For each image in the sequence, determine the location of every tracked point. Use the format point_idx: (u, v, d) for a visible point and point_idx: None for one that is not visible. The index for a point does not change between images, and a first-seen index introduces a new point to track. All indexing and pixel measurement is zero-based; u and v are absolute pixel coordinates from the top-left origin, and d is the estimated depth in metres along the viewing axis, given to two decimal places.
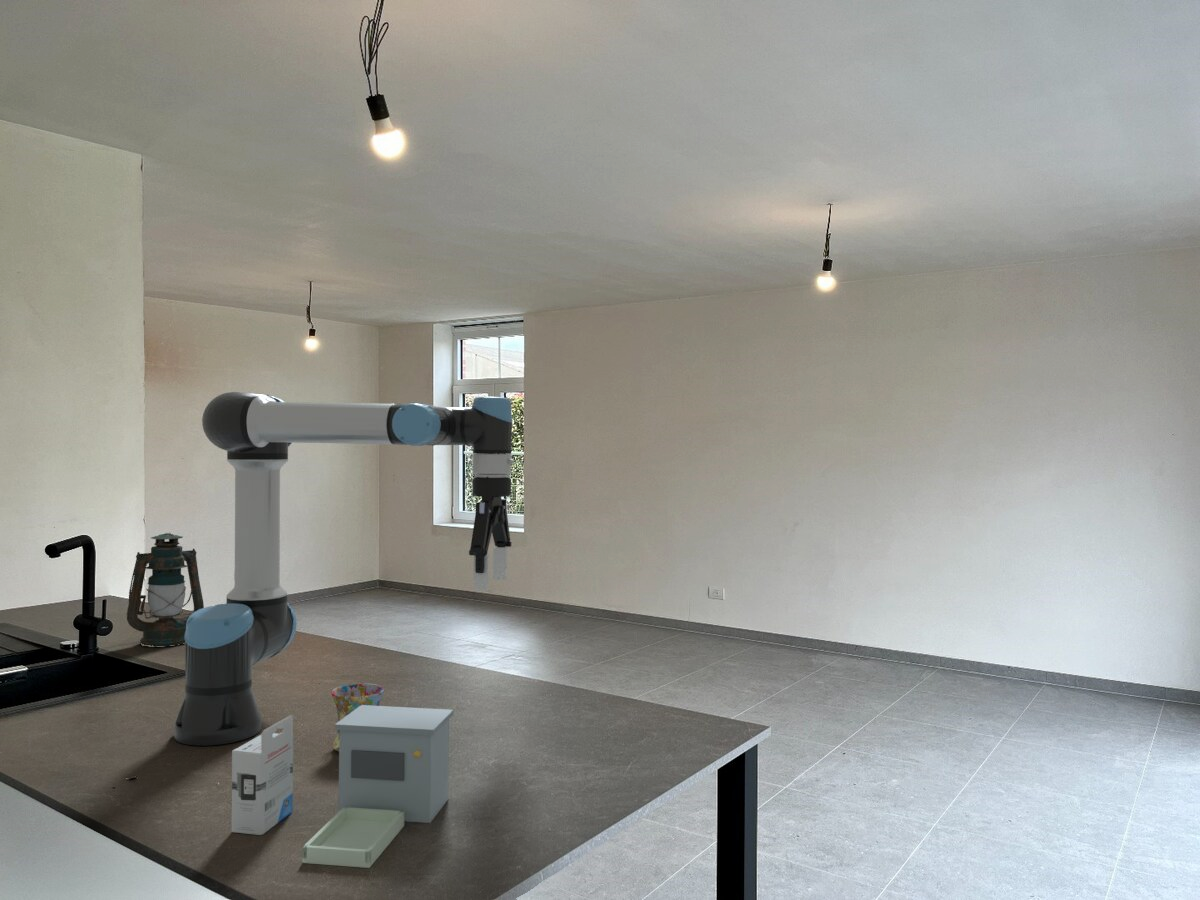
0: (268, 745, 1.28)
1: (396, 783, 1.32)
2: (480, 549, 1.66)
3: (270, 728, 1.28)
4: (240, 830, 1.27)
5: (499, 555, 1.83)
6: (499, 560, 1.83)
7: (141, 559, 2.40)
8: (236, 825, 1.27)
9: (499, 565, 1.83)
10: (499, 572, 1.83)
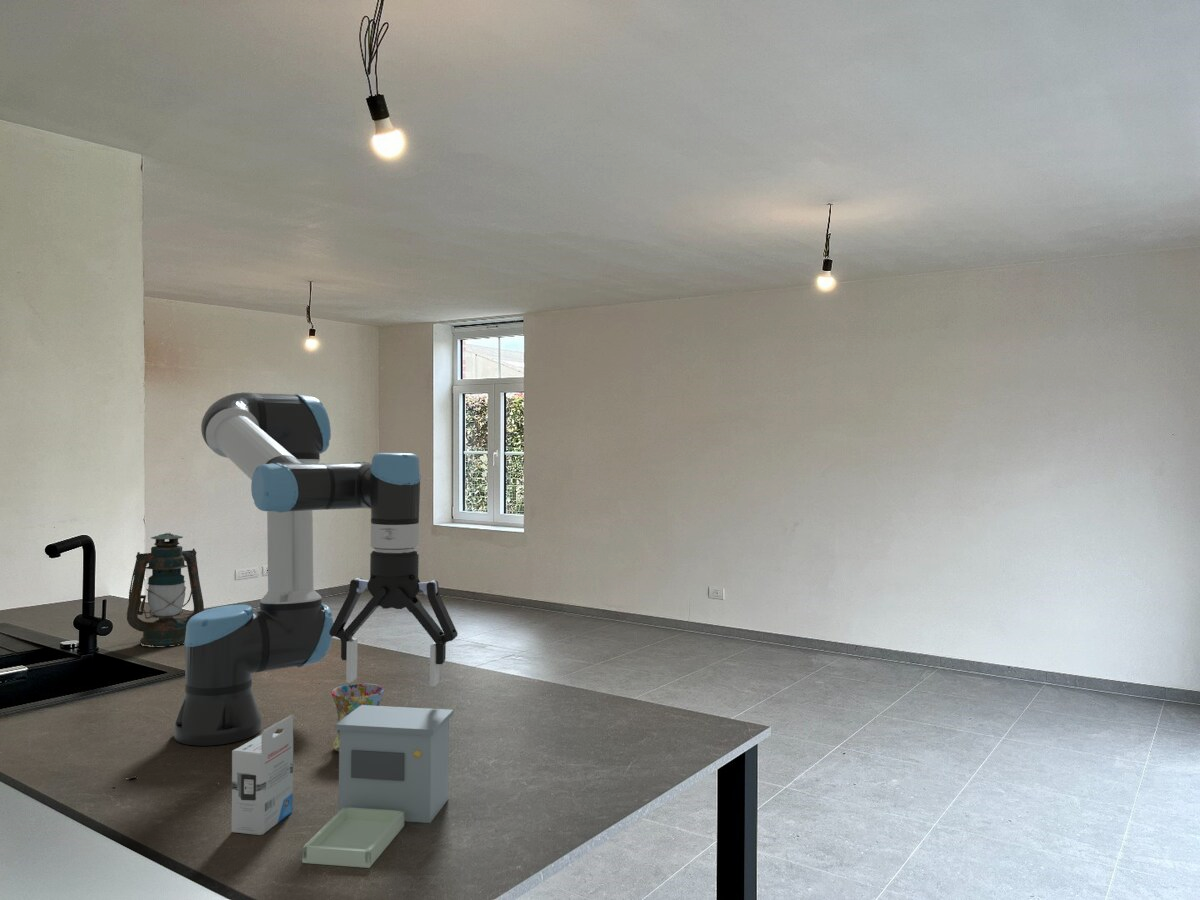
0: (268, 745, 1.28)
1: (396, 783, 1.32)
2: None
3: (270, 728, 1.28)
4: (240, 830, 1.27)
5: None
6: None
7: (141, 559, 2.40)
8: (236, 825, 1.27)
9: None
10: None
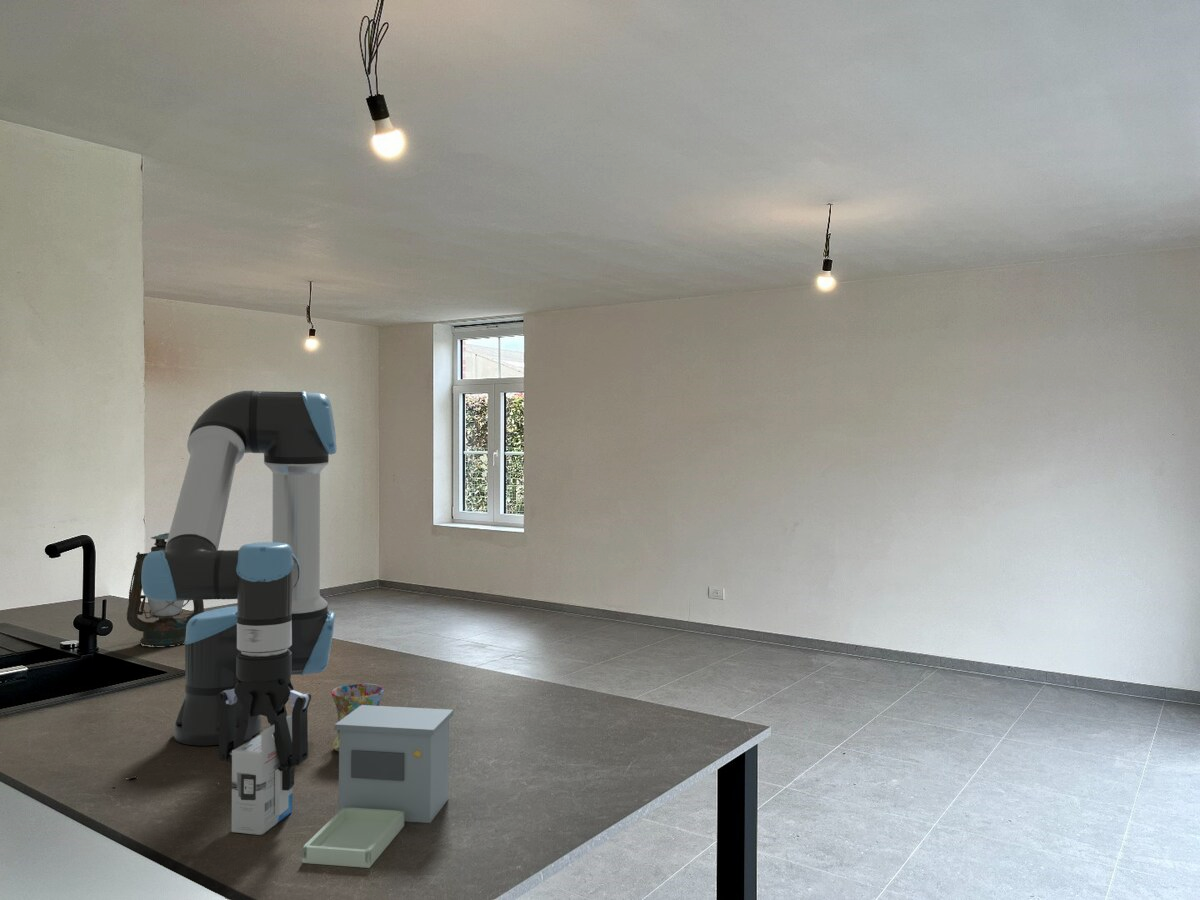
0: (268, 745, 1.28)
1: (396, 783, 1.32)
2: None
3: (270, 728, 1.28)
4: (240, 830, 1.27)
5: None
6: None
7: (141, 559, 2.40)
8: (235, 825, 1.27)
9: None
10: None
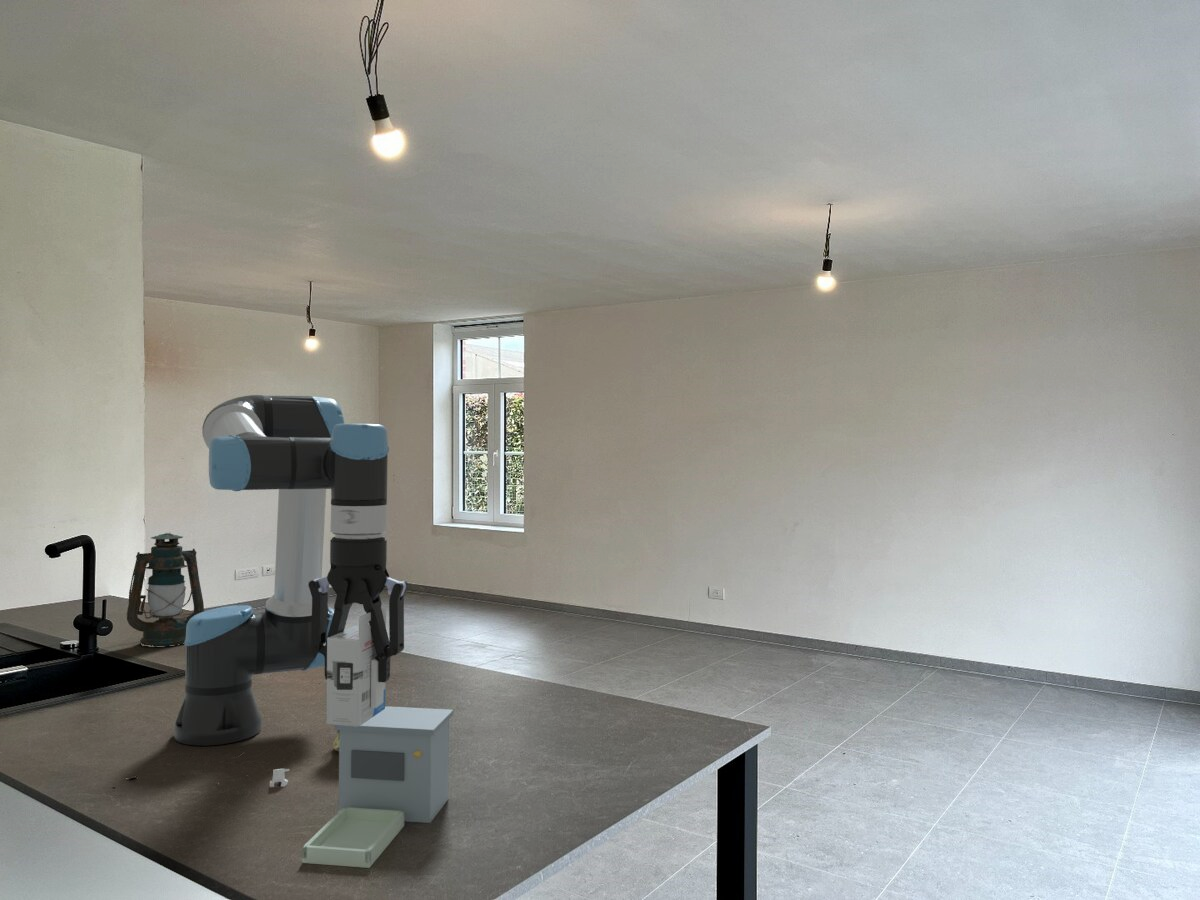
0: (365, 633, 1.21)
1: (396, 783, 1.32)
2: None
3: (366, 615, 1.22)
4: (336, 722, 1.20)
5: None
6: None
7: (141, 559, 2.40)
8: (331, 716, 1.21)
9: None
10: None
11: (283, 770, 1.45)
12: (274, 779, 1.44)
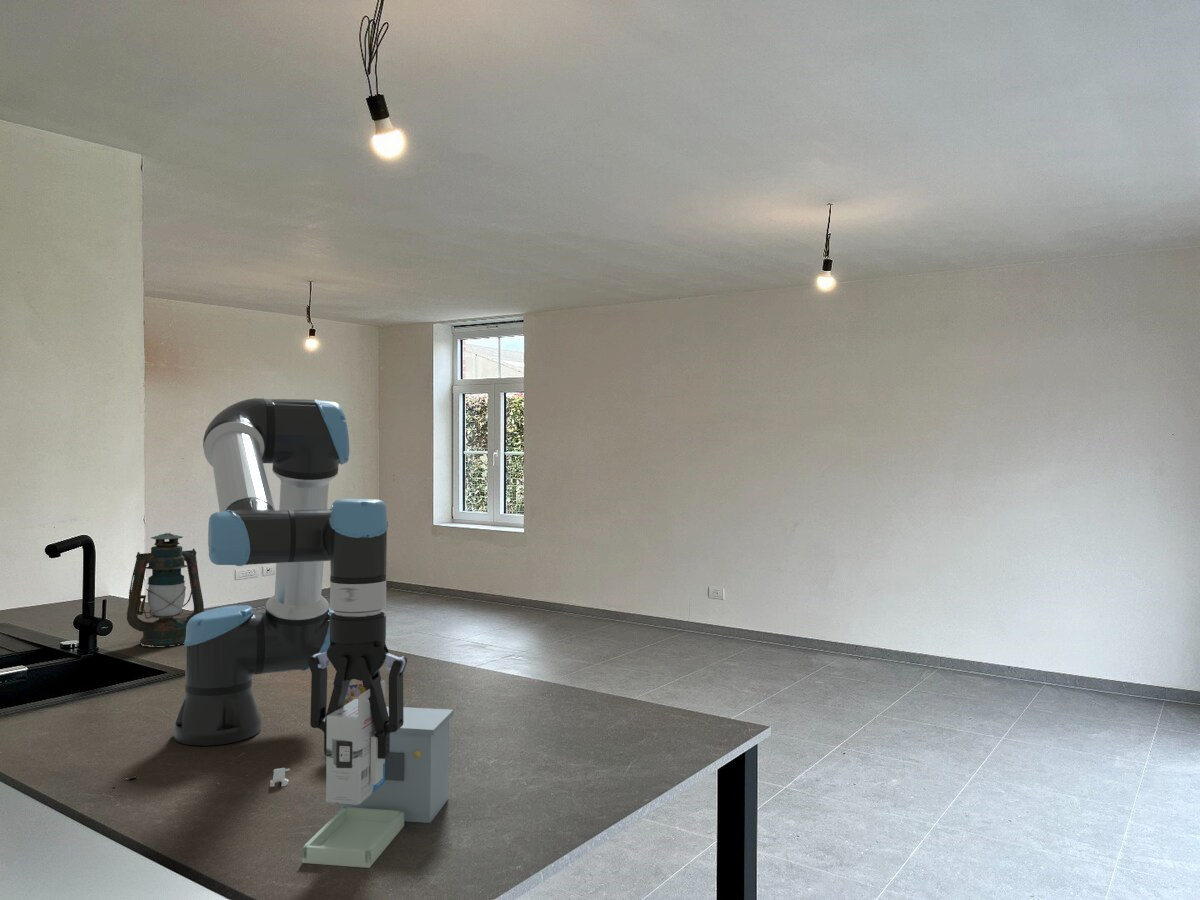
0: (364, 710, 1.21)
1: (396, 783, 1.32)
2: None
3: (366, 692, 1.22)
4: (335, 800, 1.20)
5: None
6: None
7: (141, 559, 2.40)
8: (330, 794, 1.21)
9: None
10: None
11: (283, 770, 1.45)
12: (274, 779, 1.45)
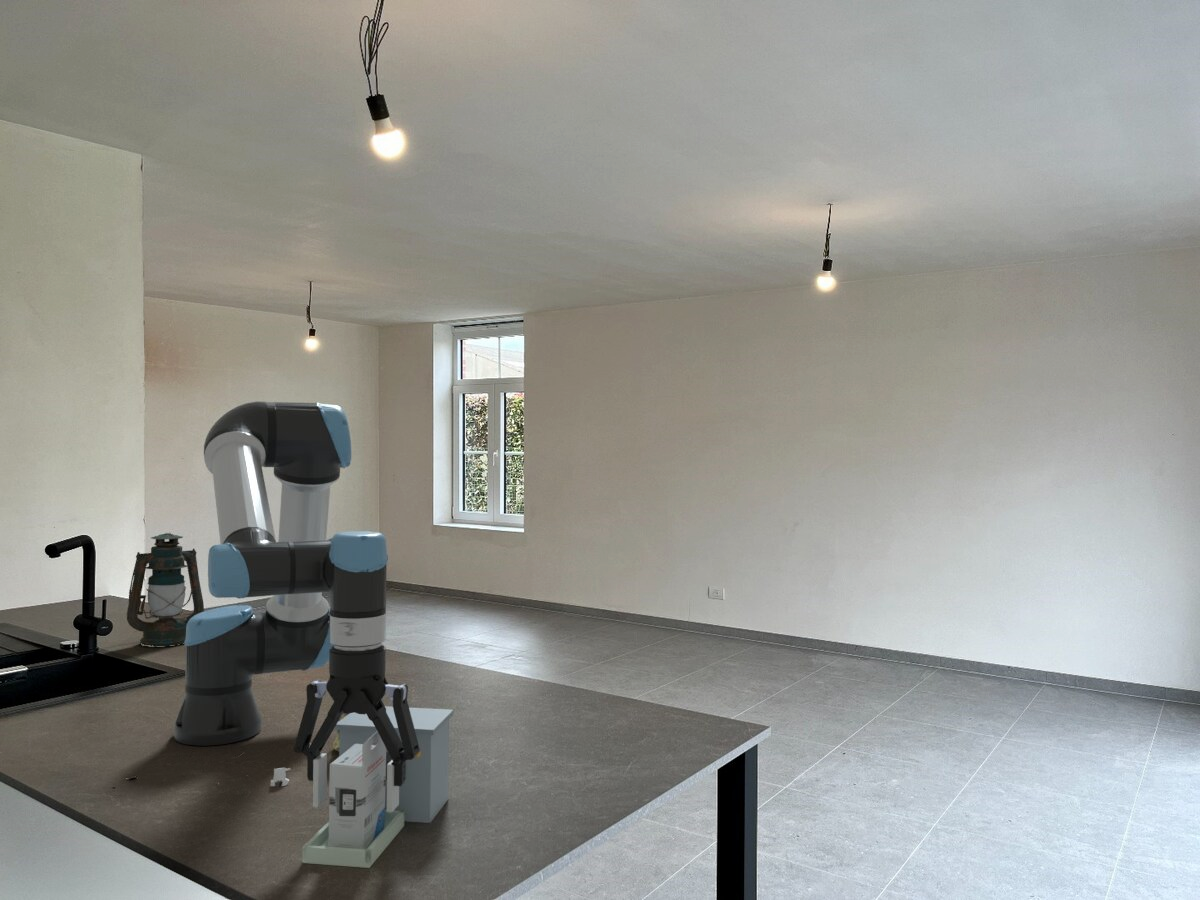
0: (368, 758, 1.22)
1: None
2: None
3: (369, 740, 1.22)
4: None
5: None
6: None
7: (141, 559, 2.40)
8: (333, 842, 1.21)
9: None
10: None
11: (284, 769, 1.46)
12: (275, 778, 1.45)
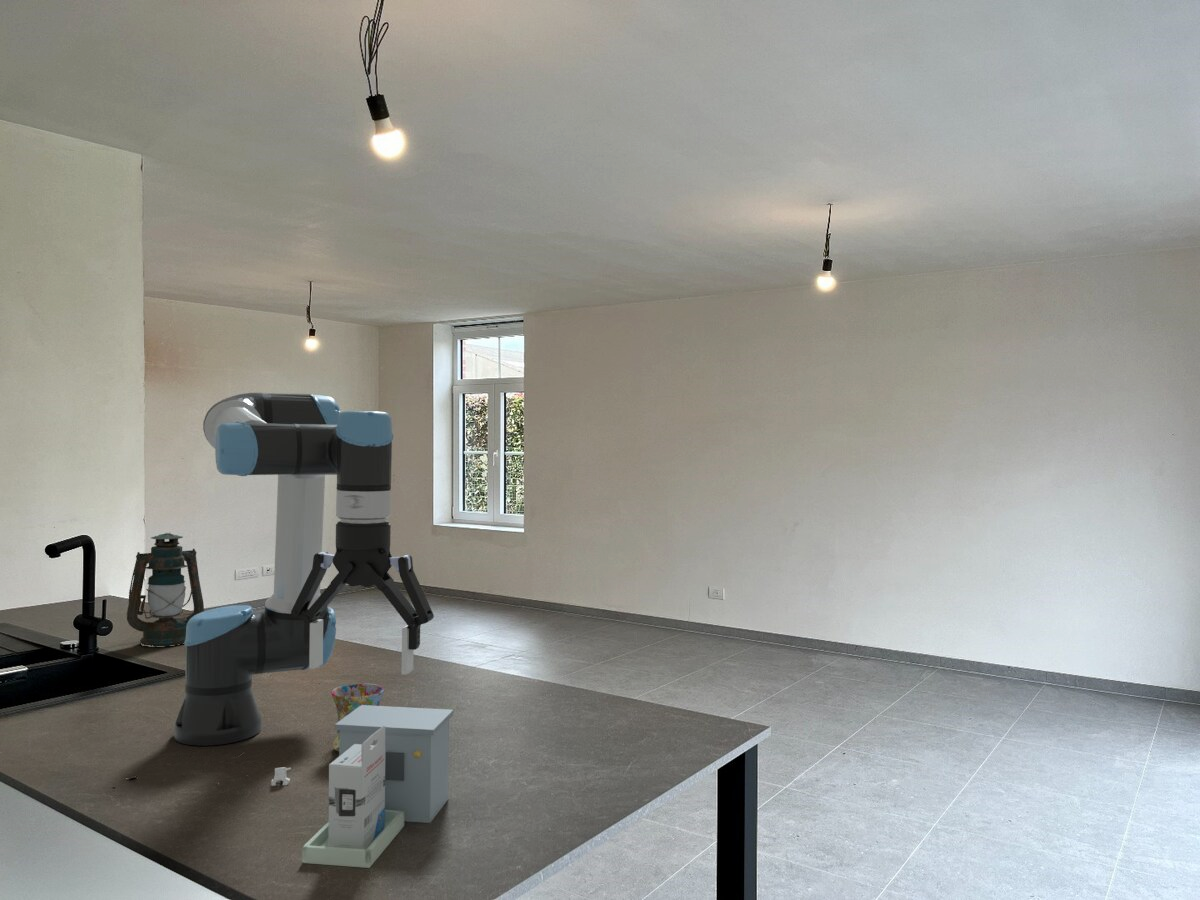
0: (367, 758, 1.22)
1: (396, 783, 1.32)
2: None
3: (368, 740, 1.22)
4: None
5: None
6: None
7: (141, 559, 2.40)
8: (333, 843, 1.21)
9: None
10: None
11: (285, 769, 1.46)
12: (276, 778, 1.45)
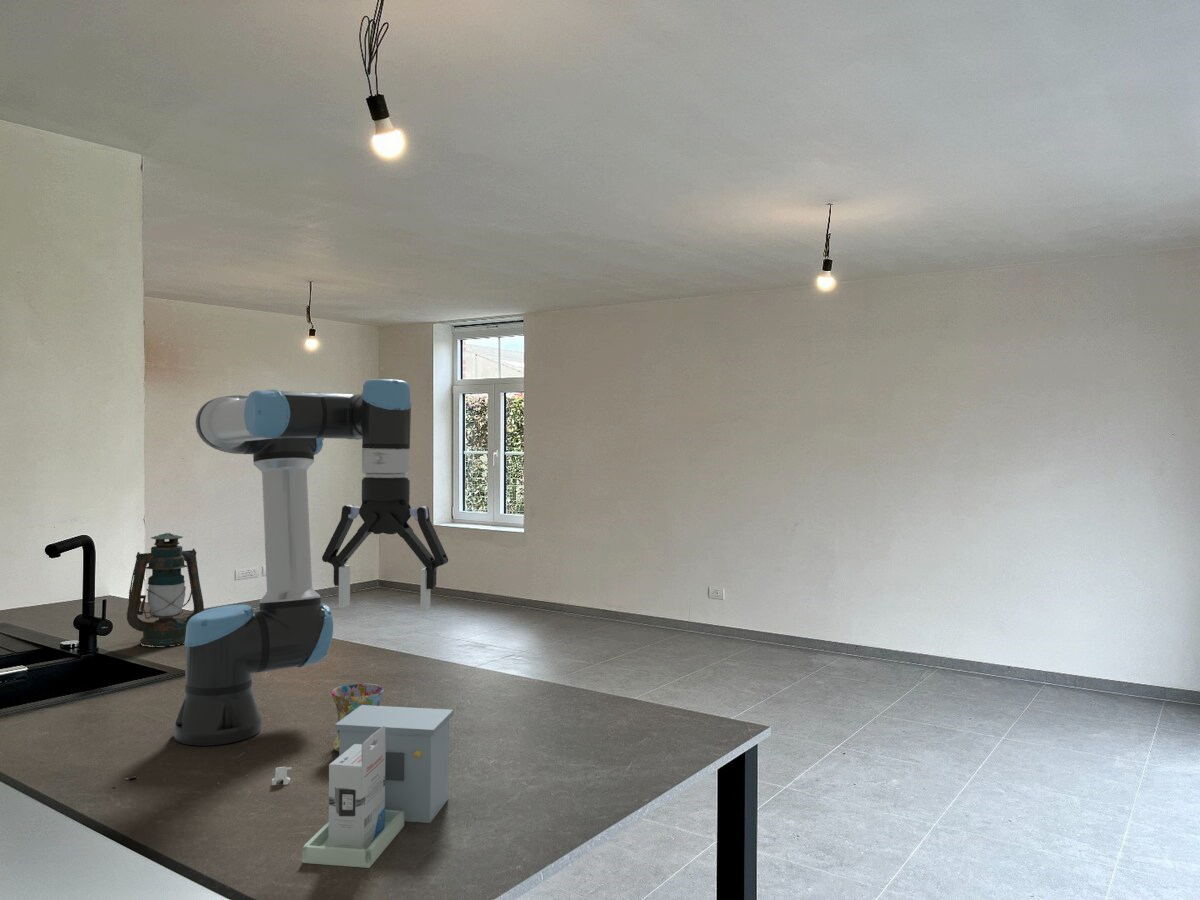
0: (367, 758, 1.22)
1: (396, 783, 1.32)
2: None
3: (368, 740, 1.22)
4: None
5: None
6: None
7: (140, 559, 2.40)
8: (333, 843, 1.21)
9: None
10: None
11: (285, 768, 1.46)
12: (276, 777, 1.45)
